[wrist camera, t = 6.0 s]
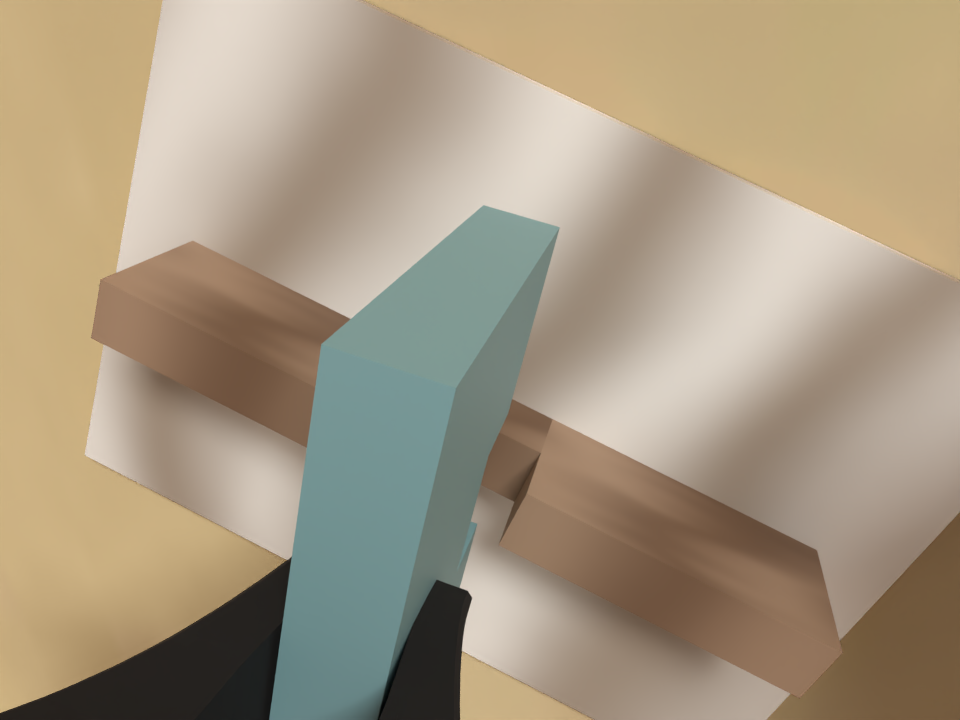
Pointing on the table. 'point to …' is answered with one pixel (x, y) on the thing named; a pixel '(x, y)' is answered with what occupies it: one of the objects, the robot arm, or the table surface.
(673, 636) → the off-white flat board
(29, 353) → the table surface
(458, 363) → the teal block
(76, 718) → the robot arm
